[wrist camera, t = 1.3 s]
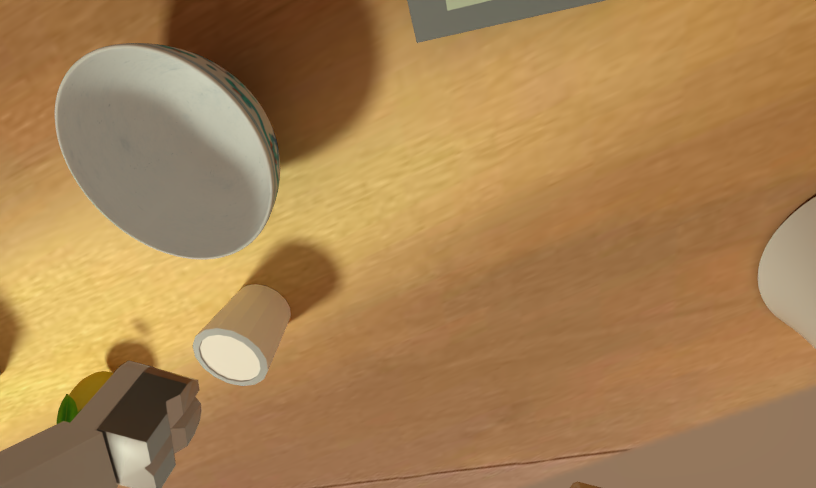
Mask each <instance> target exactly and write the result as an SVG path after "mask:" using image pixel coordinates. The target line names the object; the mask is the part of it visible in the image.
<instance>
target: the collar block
mask: <svg viewBox="0 0 816 488" xmlns="http://www.w3.org/2000/svg"><path fill="white" fill-rule="evenodd" d="M486 1H490V0H446V5H447V10H448V11H449V10H453V9H457V8H461V7H465V6H470V5H474V4H478V3H482V2H486Z"/></svg>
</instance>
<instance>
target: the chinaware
mask: <svg viewBox="0 0 816 488" xmlns="http://www.w3.org/2000/svg"><path fill="white" fill-rule="evenodd" d="M55 125H56V132H57V137H58V141H59V145H60V148H61V151H62V154H63V156H64V159H65V161H66V163H67V165H68V168H69V170H70V171H71V173H72V175H73V177H74V179H75V180H76V182H77V183H78V185H79V186H80V188H81V189H82V191H83V192H84V193H85V195H86V196H87V197H88V198H89V200H90V201H91V202H92V203H93V204H94V205H95V206H96V208H97V209H98V210H99V211H100V212H101V213H102V214H103V215H104V216H105V217H107V218H108V219H109V220H110V221H111V222H112V223H113V224H115V225H116V226H117V227H118V228H120V229H121V230H122V231H124V232H125V233H127V234H128V235H130V236H131V237H133V238H134V239H136V240H138V241H140V242H141V243H143V244H145V245H147V246H149V247H152V248H154V249H156V250H159V251H161V252H164V253H167V254H170V255H174V256H178V257H183V258H190V259H215V258H220V257H224V256H228V255H231V254H233V253H236V252H238V251H240V250H241V249H243V248H245V247H246V246H247V245H249V244H250V243H251V242H252V241H253V240H254V239H255V238H256V237H257V236H258V235H259V234H260V233H261V231H262V230H263V228H264V226H265V225H266V223H267V221H268V219H269V217H270V214H271V212H272V209H273V206H274V203H275V200H276V196H277V192H278V187H279V180H280V157H279V150H278V145H277V140H276V137H275V134H274V131H273V128H272V126H271V123H270V121H269V119H268V117H267V115H266V113H265V111H264V110H263V108H262V107H261V105H260V104H259V102H258V101H257V99H256V98H255V97H254V95H253V94H252V93H251V92H250V91H249V90H248V89H247V88H246V87H245V85H244V84H242V83H241V82H240V81H239V80H238V79H237V78H236V77H235V76H233V75H232V74H231V73H230V72H228V71H227V70H225V69H224V68H222V67H221V66H219V65H218V64H216V63H214V62H212V61H210V60H208V59H206V58H204V57H202V56H200V55H197V54H195V53H192V52H189V51H186V50H183V49H179V48H175V47H170V46H165V45H158V44H146V43H127V44H116V45H110V46H106V47H102V48H99V49H96V50H94V51H92V52H90V53H88V54H86V55H85V56H83V57H82V58H80V59H79V60H78V61H77V62H76V63H75V64H74V65H73V66H72V67H71V68H70V69H69V70H68V72H67V73H66V75H65V76H64V78H63V80H62V82H61V84H60V87H59V90H58V93H57V98H56V104H55Z"/></svg>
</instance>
